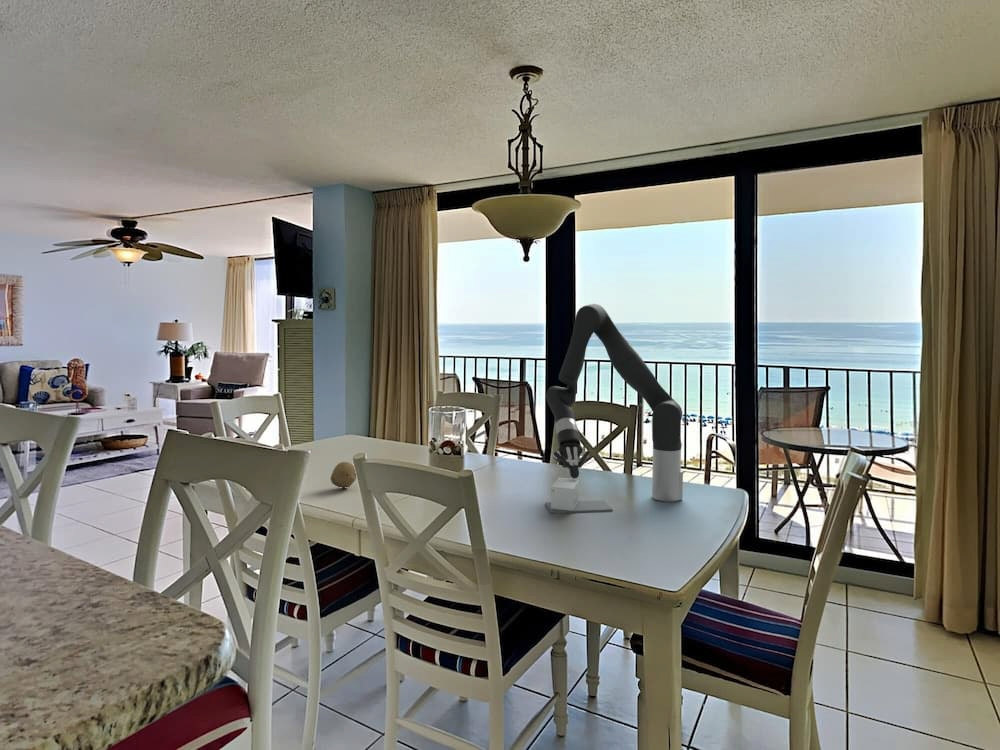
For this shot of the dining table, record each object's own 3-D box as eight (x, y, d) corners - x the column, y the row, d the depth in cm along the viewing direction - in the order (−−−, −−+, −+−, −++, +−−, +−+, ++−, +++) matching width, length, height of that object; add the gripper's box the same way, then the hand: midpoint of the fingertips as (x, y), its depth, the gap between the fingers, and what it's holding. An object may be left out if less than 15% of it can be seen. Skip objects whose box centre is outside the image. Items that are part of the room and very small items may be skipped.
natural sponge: (361, 490, 217) (360, 462, 216) (337, 494, 212) (336, 466, 212) (352, 484, 225) (351, 458, 224) (328, 488, 220) (327, 461, 219)
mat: (604, 501, 201) (604, 500, 201) (612, 511, 191) (612, 509, 191) (545, 504, 199) (545, 502, 199) (550, 513, 189) (550, 511, 189)
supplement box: (557, 498, 203) (550, 509, 191) (558, 476, 203) (550, 486, 191) (579, 500, 201) (573, 511, 189) (580, 478, 201) (573, 488, 189)
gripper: (550, 428, 206) (557, 472, 195) (588, 427, 208) (597, 470, 197) (547, 440, 212) (554, 483, 201) (584, 439, 213) (592, 482, 202)
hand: (575, 477), depth 199 cm, fingers closed
